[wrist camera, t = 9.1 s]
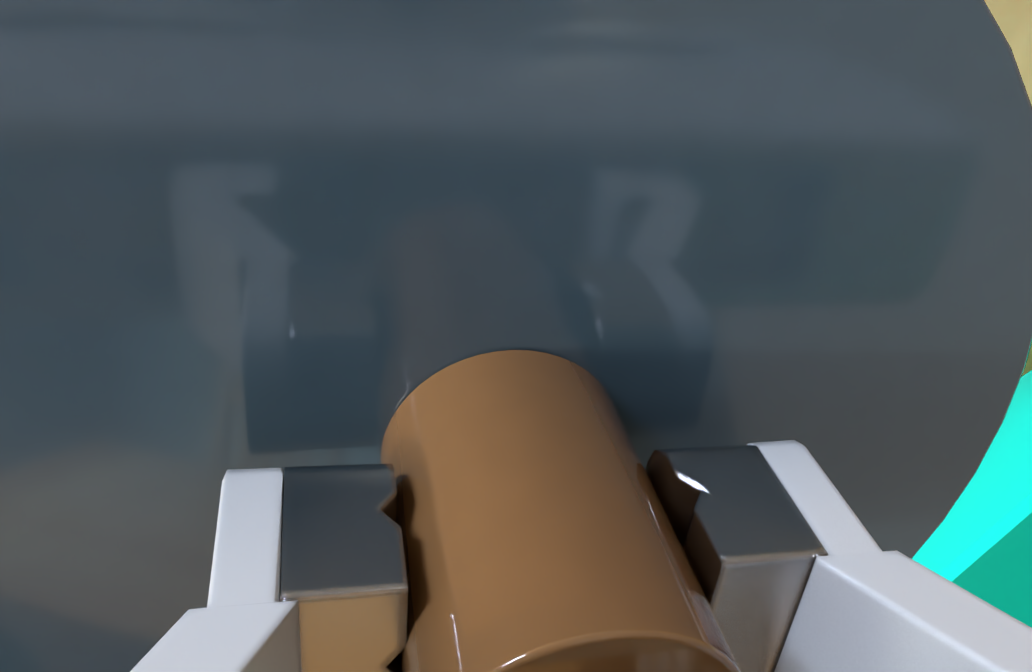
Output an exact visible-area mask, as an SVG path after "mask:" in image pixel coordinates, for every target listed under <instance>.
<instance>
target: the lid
mask: <svg viewBox="0 0 1032 672" xmlns="http://www.w3.org/2000/svg"><path fill="white" fill-rule="evenodd" d="M1031 343H1032V106H1031V103H1030V100H1029V97H1028V94H1027V92H1026V89H1025V86H1024V83H1023V81H1022V78H1021V75H1020V72H1019V69H1018V67H1017V64H1016V61H1015V58H1014V55H1013V53H1012V50H1011V47H1010V45H1009V44H1008V42H1007V40H1006V38H1005V37H1004V35H1003V33H1002V31H1001V29H1000V28H999V26H998V24H997V22H996V21H995V19H994V17H993V15H992V14H991V12H990V10H989V8H988V7H987V5H986V3H985V1H984V0H0V672H130V671H131V670H132V669H133V668H134V667H135V666H136V665H137V664H138V662H139V661H140V660H141V659H142V658H143V657H144V656H145V655H146V654H147V653H148V652H149V651H150V650H151V649H152V648H153V647H154V646H155V644H156V643H157V642H158V641H159V640H160V639H161V638H162V637H163V636H164V635H165V634H166V633H167V632H168V631H169V630H170V629H171V627H172V626H173V625H174V624H175V623H176V622H177V621H178V620H179V619H180V618H181V617H182V616H183V615H184V614H185V613H186V612H187V611H188V609H197V608H207V603H208V595H209V586H210V578H211V570H212V561H213V553H214V545H215V536H216V528H217V520H218V512H219V503H220V495H221V487H222V480H223V478H224V476H225V473H226V471H227V470H230V469H258V468H282V469H284V471H285V467H294V466H327V465H359V464H393V468H394V474H395V481H396V489H397V501H396V524H398V525H399V526H400V527H401V529H402V538H403V547H404V557H405V566H406V575H407V584H408V604H407V640H406V647H405V648H404V649H403V650H402V651H401V652H400V658H401V668H402V672H742V671H741V669H740V667H739V665H738V663H737V661H736V659H735V657H734V654H733V652H732V650H731V648H730V646H729V644H728V642H727V640H726V638H725V636H724V633H723V631H722V629H721V627H720V625H719V623H718V621H717V619H716V617H715V615H714V612H713V610H712V608H711V606H710V604H709V602H708V600H707V598H706V596H705V594H704V591H703V589H702V587H701V585H700V583H699V581H698V579H697V577H696V575H695V573H694V571H693V568H692V566H691V564H690V562H689V560H688V558H687V556H686V554H685V552H684V550H683V547H682V545H681V543H680V541H679V539H678V537H677V535H676V533H675V531H674V529H673V526H672V524H671V522H670V520H669V518H668V516H667V514H666V512H665V510H664V508H663V505H662V503H661V501H660V499H659V497H658V495H657V493H656V491H655V489H654V487H653V484H652V482H651V480H650V478H649V476H648V474H647V472H646V466H647V462H648V460H649V458H650V456H651V455H652V453H653V451H654V450H660V449H677V448H694V447H711V446H727V445H747V444H748V443H757V442H770V441H783V440H795V441H797V442H799V443H801V444H802V445H804V446H805V447H806V448H807V449H808V451H809V452H810V454H811V455H812V456H813V458H814V459H815V460H816V462H817V463H818V464H819V466H820V467H821V468H822V470H823V471H824V473H825V474H826V475H827V477H828V478H829V479H830V481H831V482H832V483H833V485H834V486H835V487H836V489H837V490H838V492H839V493H840V494H841V496H842V497H843V498H844V500H845V501H846V502H847V504H848V505H849V506H850V508H851V509H852V511H853V512H854V513H855V515H856V516H857V517H858V519H859V520H860V521H861V523H862V524H863V526H864V527H865V528H866V530H867V531H868V532H869V534H870V535H871V536H872V538H873V539H874V540H875V542H876V543H877V545H878V546H879V547H880V549H881V550H882V551H899V552H900V553H902V554H904V555H906V556H907V557H909V558H911V559H912V558H913V557H914V556H915V554H916V553H917V552H918V551H919V550H920V548H921V547H922V546H923V545H924V544H925V542H926V541H927V540H928V539H929V538H930V536H931V535H932V534H933V533H934V532H935V530H936V529H937V528H938V527H939V526H940V524H941V523H942V522H943V521H944V519H945V518H946V516H947V515H948V513H949V512H950V510H951V509H952V507H953V506H954V504H955V503H956V502H957V500H958V499H959V497H960V496H961V494H962V493H963V491H964V490H965V488H966V487H967V485H968V484H969V482H970V481H971V479H972V478H973V477H974V475H975V474H976V472H977V470H978V468H979V466H980V464H981V462H982V461H983V459H984V457H985V455H986V453H987V451H988V449H989V447H990V446H991V444H992V442H993V440H994V438H995V436H996V434H997V433H998V431H999V429H1000V427H1001V425H1002V423H1003V421H1004V419H1005V416H1006V414H1007V411H1008V409H1009V406H1010V404H1011V401H1012V399H1013V396H1014V394H1015V391H1016V389H1017V386H1018V384H1019V381H1020V378H1021V376H1022V373H1023V371H1024V368H1025V366H1026V362H1027V358H1028V354H1029V350H1030V346H1031Z"/></svg>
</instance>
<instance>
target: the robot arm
mask: <svg viewBox="0 0 1032 672" xmlns="http://www.w3.org/2000/svg"><path fill="white" fill-rule="evenodd" d="M646 472H647V474H648V476H649V478H650V480H651V482H652V484H653V487H654V489H655V491H656V493H657V495H658V497H659V499H660V501H661V503H662V505H663V508H664V510H665V512H666V514H667V516H668V518H669V520H670V522H671V524H672V526H673V529H674V531H675V533H676V535H677V537H678V539H679V541H680V543H681V545H682V547H683V550H684V552H685V554H686V556H687V558H688V560H689V562H690V564H691V566H692V568H693V571H694V573H695V575H696V577H697V579H698V581H699V583H700V585H701V587H702V589H703V591H704V594H705V596H706V598H707V600H708V602H709V604H710V606H711V608H712V610H713V612H714V615H715V617H716V619H717V621H718V623H719V625H720V627H721V629H722V631H723V633H724V636H725V638H726V640H727V642H728V644H729V646H730V648H731V650H732V652H733V654H734V657H735V659H736V661H737V663H738V665H739V667H740V669H741V671H742V672H1032V628H1031V627H1029V626H1028V625H1026V624H1024V623H1022V622H1021V621H1019V620H1017V619H1015V618H1014V617H1012V616H1010V615H1008V614H1007V613H1005V612H1003V611H1001V610H1000V609H998V608H996V607H994V606H993V605H991V604H989V603H987V602H986V601H984V600H982V599H980V598H979V597H977V596H975V595H974V594H972V593H970V592H968V591H967V590H965V589H963V588H961V587H960V586H958V585H956V584H954V583H953V582H951V581H949V580H947V579H946V578H944V577H942V576H940V575H939V574H937V573H935V572H933V571H932V570H930V569H928V568H926V567H925V566H923V565H921V564H919V563H918V562H916V561H914V560H913V559H911V558H909V557H907V556H906V555H904V554H902V553H900V552H899V551H882V550H881V549H880V547H879V546H878V545H877V543H876V542H875V540H874V539H873V538H872V536H871V535H870V534H869V532H868V531H867V530H866V528H865V527H864V526H863V524H862V523H861V521H860V520H859V519H858V517H857V516H856V515H855V513H854V512H853V511H852V509H851V508H850V506H849V505H848V504H847V502H846V501H845V500H844V498H843V497H842V496H841V494H840V493H839V492H838V490H837V489H836V487H835V486H834V485H833V483H832V482H831V481H830V479H829V478H828V477H827V475H826V474H825V473H824V471H823V470H822V468H821V467H820V466H819V464H818V463H817V462H816V460H815V459H814V458H813V456H812V455H811V454H810V452H809V451H808V449H807V448H806V447H805V446H804V445H802V444H801V443H799V442H797V441H795V440H783V441H770V442H757V443H748V444H747V445H727V446H711V447H694V448H677V449H660V450H654V451H653V453H652V455H651V456H650V458H649V460H648V462H647V466H646ZM396 501H397V489H396V481H395V474H394V468H393V464H359V465H327V466H294V467H285V471H284V469H282V468H258V469H230V470H227V471H226V473H225V476H224V478H223V480H222V487H221V495H220V503H219V512H218V520H217V528H216V536H215V545H214V553H213V561H212V570H211V578H210V586H209V595H208V603H207V608H197V609H188V611H187V612H186V613H185V614H184V615H183V616H182V617H181V618H180V619H179V620H178V621H177V622H176V623H175V624H174V625H173V626H172V627H171V629H170V630H169V631H168V632H167V633H166V634H165V635H164V636H163V637H162V638H161V639H160V640H159V641H158V642H157V643H156V644H155V646H154V647H153V648H152V649H151V650H150V651H149V652H148V653H147V654H146V655H145V656H144V657H143V658H142V659H141V660H140V661H139V662H138V664H137V665H136V666H135V667H134V668H133V669H132V670H131V671H130V672H402V668H401V658H400V652H401V651H402V650H403V649H404V648H405V647H406V640H407V604H408V584H407V575H406V566H405V557H404V547H403V538H402V529H401V527H400V526H399V525H398V524H396Z"/></svg>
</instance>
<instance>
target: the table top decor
mask: <svg viewBox="0 0 1032 672" xmlns="http://www.w3.org/2000/svg"><path fill="white" fill-rule="evenodd" d="M912 559H913V560H914V561H916V562H918V563H919V564H921V565H923V566H925V567H926V568H928V569H930V570H932V571H933V572H935V573H937V574H939V575H940V576H942V577H944V578H946V579H947V580H949V581H951V582H953V583H954V584H956V585H958V586H960V587H961V588H963V589H965V590H967V591H968V592H970V593H972V594H974V595H975V596H977V597H979V598H980V599H982V600H984V601H986V602H987V603H989V604H991V605H993V606H994V607H996V608H998V609H1000V610H1001V611H1003V612H1005V613H1007V614H1008V615H1010V616H1012V617H1014V618H1015V619H1017V620H1019V621H1021V622H1022V623H1024V624H1026V625H1028V626H1029V627H1031V628H1032V370H1031V371H1030V372H1028V373H1027V374H1025V375H1023V376H1022V377H1021V378H1020V381H1019V384H1018V386H1017V389H1016V391H1015V394H1014V396H1013V399H1012V401H1011V404H1010V406H1009V409H1008V411H1007V414H1006V416H1005V419H1004V421H1003V423H1002V425H1001V427H1000V429H999V431H998V433H997V434H996V436H995V438H994V440H993V442H992V444H991V446H990V447H989V449H988V451H987V453H986V455H985V457H984V459H983V461H982V462H981V464H980V466H979V468H978V470H977V472H976V474H975V475H974V477H973V478H972V479H971V481H970V482H969V484H968V485H967V487H966V488H965V490H964V491H963V493H962V494H961V496H960V497H959V499H958V500H957V502H956V503H955V504H954V506H953V507H952V509H951V510H950V512H949V513H948V515H947V516H946V518H945V519H944V521H943V522H942V523H941V524H940V526H939V527H938V528H937V529H936V530H935V532H934V533H933V534H932V535H931V536H930V538H929V539H928V540H927V541H926V542H925V544H924V545H923V546H922V547H921V548H920V550H919V551H918V552H917V553H916V554H915V556H914V557H913V558H912Z"/></svg>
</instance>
